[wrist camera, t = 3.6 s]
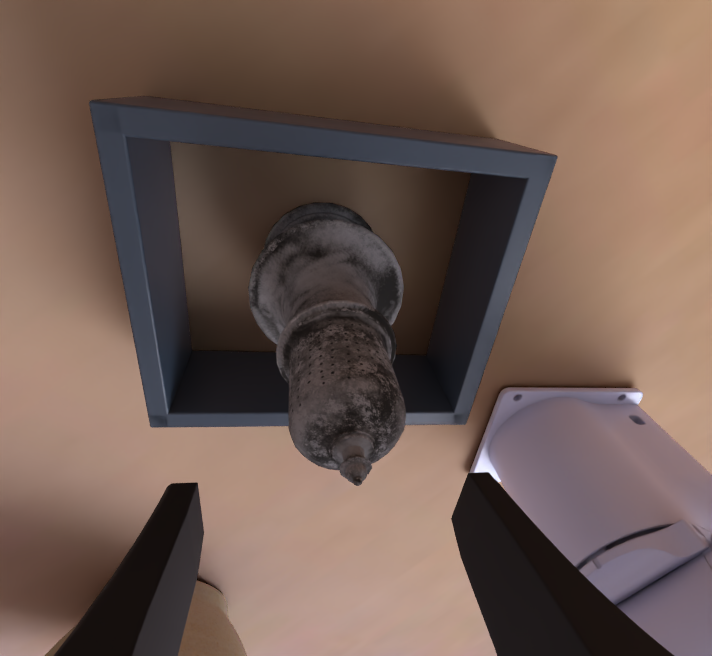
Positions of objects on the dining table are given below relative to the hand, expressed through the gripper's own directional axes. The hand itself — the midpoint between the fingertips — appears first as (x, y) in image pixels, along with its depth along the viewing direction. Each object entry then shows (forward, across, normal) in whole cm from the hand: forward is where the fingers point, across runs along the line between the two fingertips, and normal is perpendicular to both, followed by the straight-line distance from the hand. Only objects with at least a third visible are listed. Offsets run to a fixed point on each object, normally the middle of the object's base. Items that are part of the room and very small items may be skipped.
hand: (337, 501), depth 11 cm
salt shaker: (+11, 0, -3) cm, 11 cm away
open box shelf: (+10, 0, -3) cm, 11 cm away
